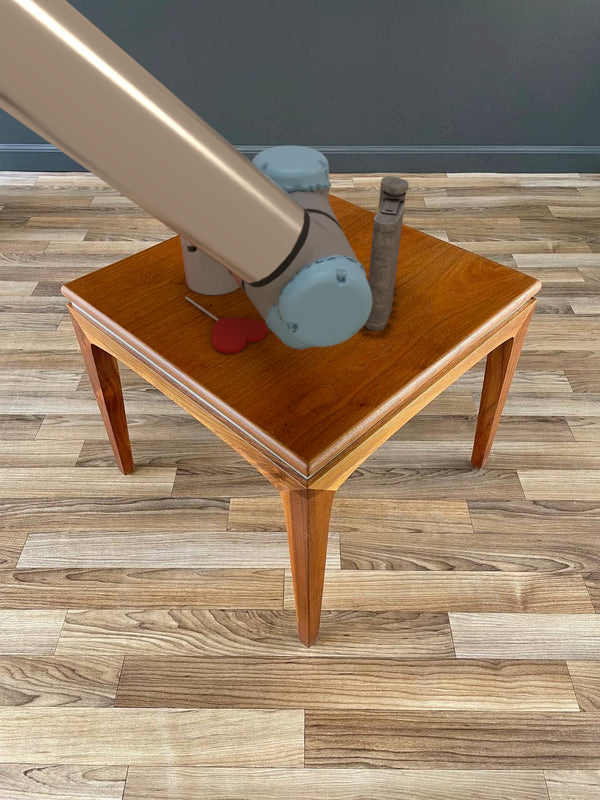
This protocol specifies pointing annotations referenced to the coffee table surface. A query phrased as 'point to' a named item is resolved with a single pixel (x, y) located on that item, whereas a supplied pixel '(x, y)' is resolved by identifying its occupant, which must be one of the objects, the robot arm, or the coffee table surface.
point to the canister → (206, 273)
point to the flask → (385, 250)
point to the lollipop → (234, 332)
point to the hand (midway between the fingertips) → (195, 182)
